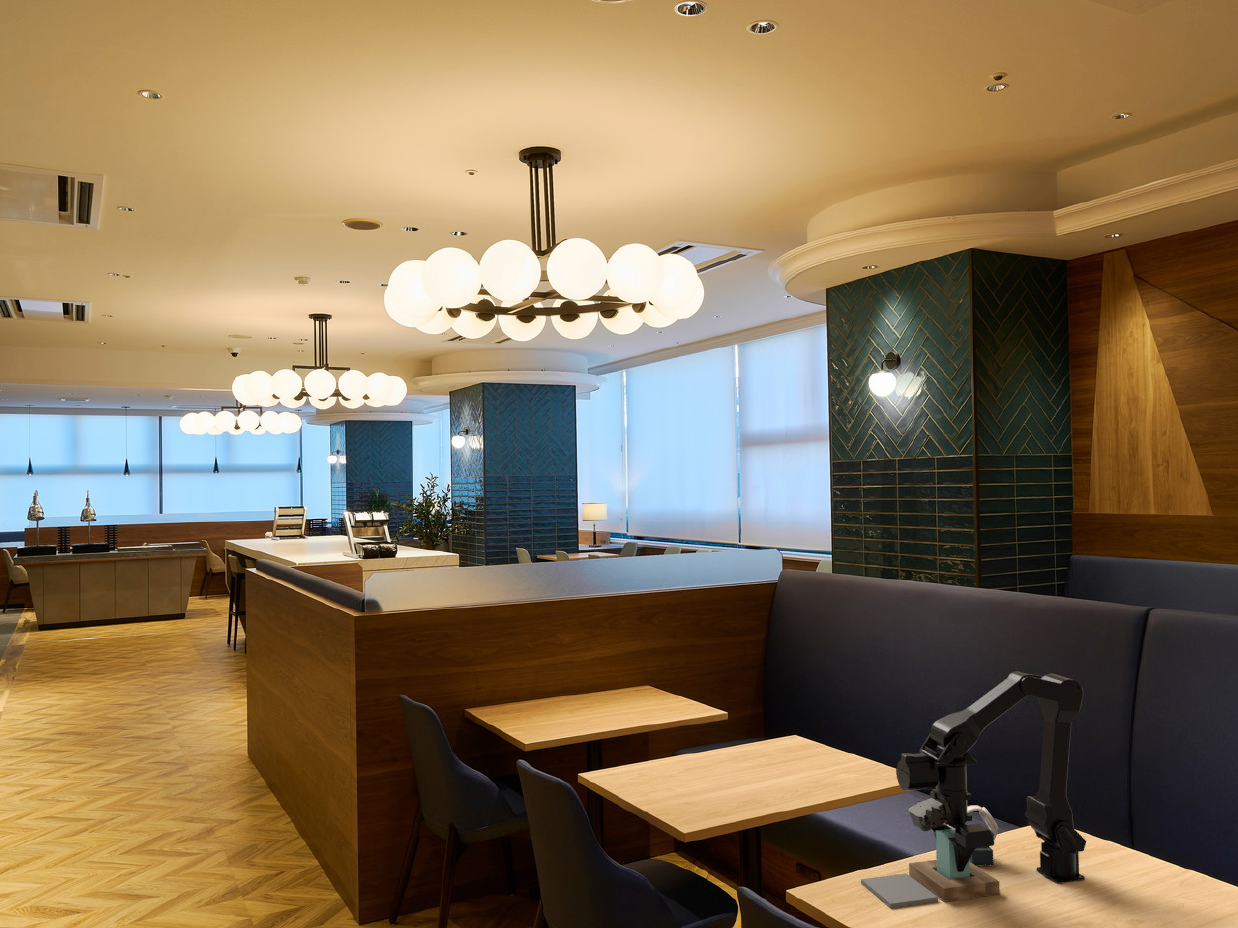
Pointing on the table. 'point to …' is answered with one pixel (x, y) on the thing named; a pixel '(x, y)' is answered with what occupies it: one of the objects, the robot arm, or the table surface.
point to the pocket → (954, 882)
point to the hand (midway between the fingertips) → (953, 866)
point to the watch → (986, 853)
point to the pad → (899, 890)
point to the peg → (948, 856)
